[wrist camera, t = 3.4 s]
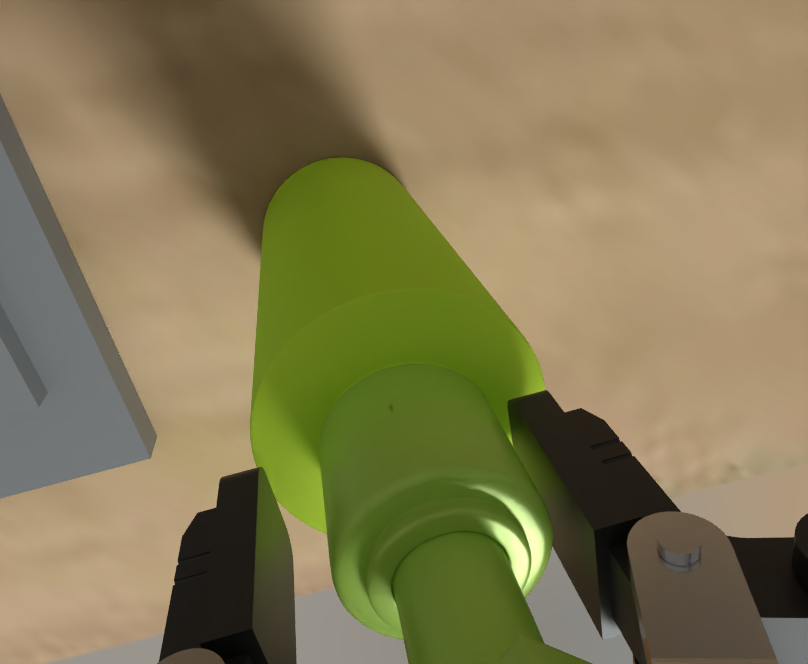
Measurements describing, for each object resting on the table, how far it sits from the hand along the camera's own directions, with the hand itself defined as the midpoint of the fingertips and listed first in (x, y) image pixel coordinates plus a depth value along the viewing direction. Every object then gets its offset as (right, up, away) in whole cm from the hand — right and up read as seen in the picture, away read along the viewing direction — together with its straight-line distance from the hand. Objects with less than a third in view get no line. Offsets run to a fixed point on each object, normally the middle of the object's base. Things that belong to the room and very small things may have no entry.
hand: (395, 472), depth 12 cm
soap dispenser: (-3, +6, +13) cm, 14 cm away
